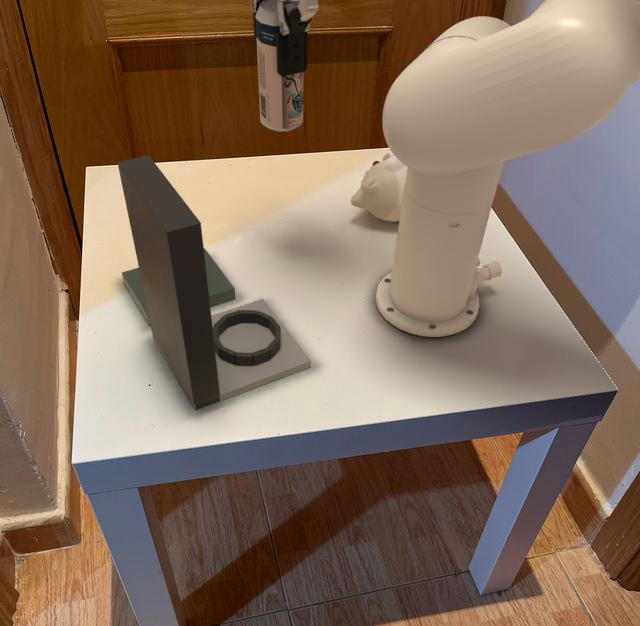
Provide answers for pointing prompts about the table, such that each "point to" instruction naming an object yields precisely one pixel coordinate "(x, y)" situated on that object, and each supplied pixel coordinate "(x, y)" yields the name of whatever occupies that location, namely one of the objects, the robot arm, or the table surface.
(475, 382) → the table surface
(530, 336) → the table surface
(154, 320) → the l-shaped can stand
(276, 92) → the beer can
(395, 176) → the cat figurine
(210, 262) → the dark green flat block
